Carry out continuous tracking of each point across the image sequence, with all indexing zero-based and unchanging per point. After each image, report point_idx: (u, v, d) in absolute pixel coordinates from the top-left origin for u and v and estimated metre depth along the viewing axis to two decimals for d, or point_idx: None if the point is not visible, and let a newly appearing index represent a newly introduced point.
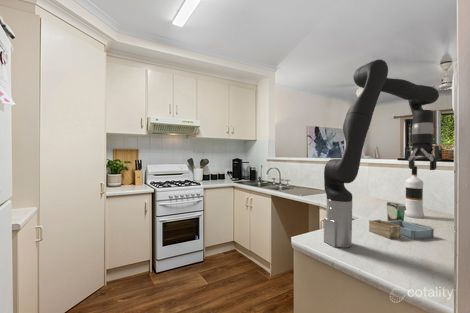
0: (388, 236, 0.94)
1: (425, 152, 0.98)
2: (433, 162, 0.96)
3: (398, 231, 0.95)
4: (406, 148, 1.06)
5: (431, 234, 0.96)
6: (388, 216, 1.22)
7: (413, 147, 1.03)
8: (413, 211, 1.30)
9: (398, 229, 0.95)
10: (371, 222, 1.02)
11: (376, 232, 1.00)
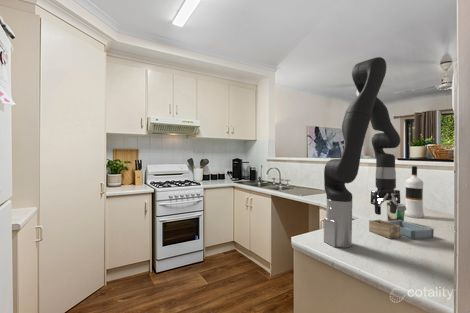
0: (388, 236, 0.94)
1: (393, 197, 0.99)
2: (395, 206, 1.00)
3: (398, 231, 0.95)
4: (377, 193, 0.97)
5: (431, 234, 0.96)
6: (388, 216, 1.22)
7: (382, 191, 0.98)
8: (413, 211, 1.30)
9: (398, 229, 0.95)
10: (371, 222, 1.02)
11: (376, 232, 1.00)
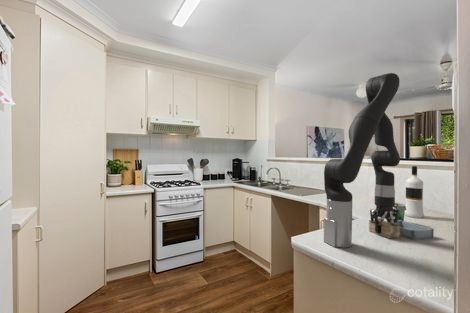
0: (388, 236, 0.94)
1: (391, 215, 0.99)
2: None
3: (398, 231, 0.95)
4: (376, 212, 0.97)
5: (431, 234, 0.96)
6: None
7: (381, 209, 0.98)
8: (413, 211, 1.30)
9: (398, 229, 0.95)
10: None
11: None
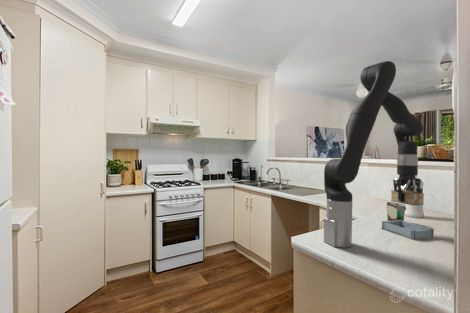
0: (412, 203, 0.97)
1: (414, 184, 1.01)
2: None
3: (421, 198, 0.98)
4: (399, 180, 0.99)
5: (431, 234, 0.96)
6: (388, 216, 1.22)
7: (404, 178, 1.00)
8: (413, 211, 1.30)
9: (421, 196, 0.98)
10: (393, 192, 1.05)
11: (399, 201, 1.02)
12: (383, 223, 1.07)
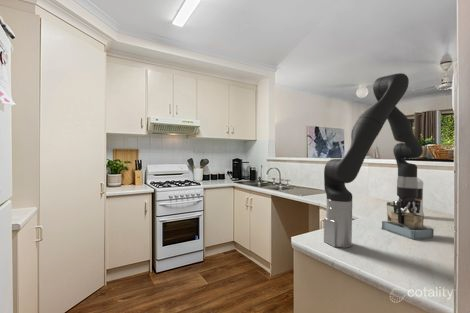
0: (412, 226, 0.97)
1: (414, 206, 1.01)
2: None
3: (421, 221, 0.98)
4: (399, 203, 0.99)
5: (431, 234, 0.96)
6: (388, 216, 1.22)
7: (404, 200, 1.00)
8: None
9: (421, 219, 0.98)
10: (393, 213, 1.05)
11: None
12: (383, 223, 1.07)
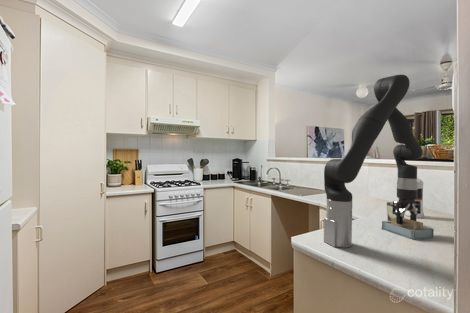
0: None
1: (414, 207, 1.01)
2: (415, 216, 1.03)
3: (420, 227, 0.98)
4: (399, 203, 0.99)
5: (431, 234, 0.96)
6: (388, 216, 1.22)
7: (404, 202, 1.00)
8: None
9: (421, 226, 0.98)
10: (393, 219, 1.05)
11: None
12: (383, 223, 1.07)
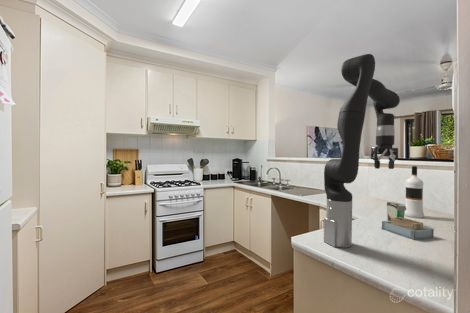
0: None
1: (391, 153, 1.08)
2: (393, 162, 1.09)
3: (420, 227, 0.98)
4: (376, 148, 1.06)
5: (431, 234, 0.96)
6: (388, 216, 1.22)
7: (381, 147, 1.07)
8: (413, 211, 1.30)
9: (421, 226, 0.98)
10: (393, 219, 1.05)
11: None
12: (383, 223, 1.07)
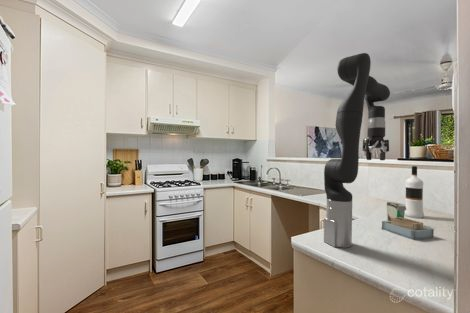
0: None
1: (382, 144, 1.10)
2: (384, 153, 1.12)
3: (420, 227, 0.98)
4: (368, 140, 1.08)
5: (431, 234, 0.96)
6: (388, 216, 1.22)
7: (373, 139, 1.09)
8: (413, 211, 1.30)
9: (421, 226, 0.98)
10: (393, 219, 1.05)
11: None
12: (383, 223, 1.07)
